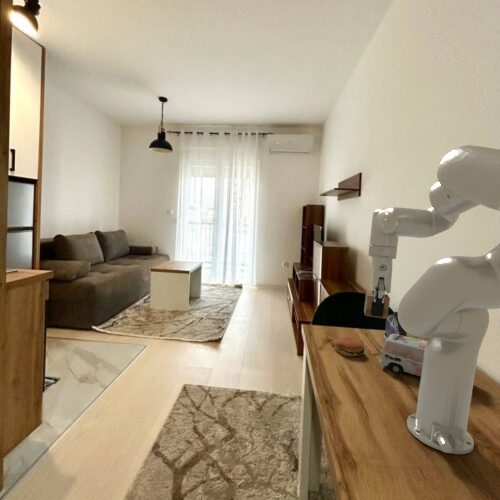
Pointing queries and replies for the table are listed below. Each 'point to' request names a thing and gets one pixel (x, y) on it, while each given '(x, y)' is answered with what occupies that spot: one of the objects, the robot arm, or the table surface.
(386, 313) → the light brown cube
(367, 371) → the table surface
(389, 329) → the decorative emblem
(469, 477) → the table surface
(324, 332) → the table surface
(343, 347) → the burger
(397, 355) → the toy car
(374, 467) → the table surface
